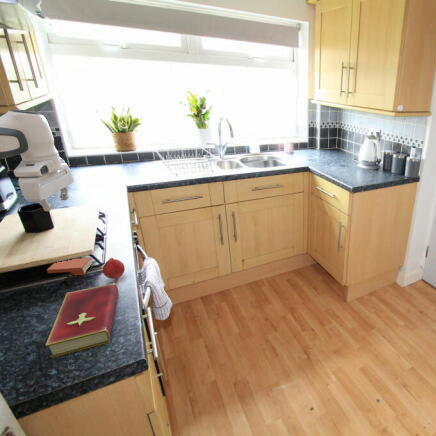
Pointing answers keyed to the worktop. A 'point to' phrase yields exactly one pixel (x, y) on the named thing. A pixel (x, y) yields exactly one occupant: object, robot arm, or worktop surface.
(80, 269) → the pocket book
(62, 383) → the worktop surface
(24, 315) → the worktop surface
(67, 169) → the robot arm
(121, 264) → the red round piece
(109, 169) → the worktop surface
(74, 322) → the hardcover book
